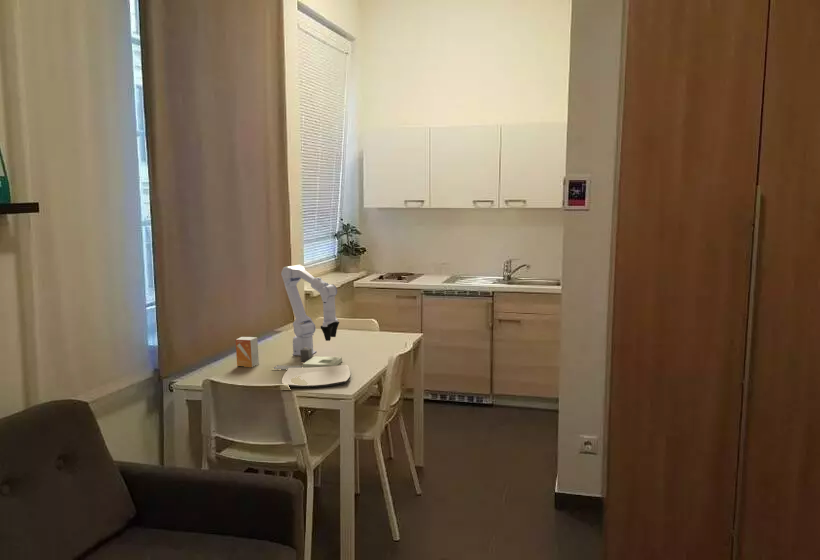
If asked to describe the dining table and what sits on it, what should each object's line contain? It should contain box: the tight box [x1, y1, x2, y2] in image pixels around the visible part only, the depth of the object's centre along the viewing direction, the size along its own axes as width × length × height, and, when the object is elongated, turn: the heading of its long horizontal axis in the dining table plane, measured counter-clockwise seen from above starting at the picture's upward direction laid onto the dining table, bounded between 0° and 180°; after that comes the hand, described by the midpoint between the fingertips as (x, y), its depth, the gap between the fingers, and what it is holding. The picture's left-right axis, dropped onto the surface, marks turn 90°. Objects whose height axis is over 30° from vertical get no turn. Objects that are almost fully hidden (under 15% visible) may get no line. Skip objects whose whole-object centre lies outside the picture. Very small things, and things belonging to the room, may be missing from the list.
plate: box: [281, 364, 351, 388], centre depth 289 cm, size 29×29×3 cm
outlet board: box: [302, 355, 343, 368], centre depth 313 cm, size 14×14×2 cm
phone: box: [273, 364, 303, 370], centre depth 309 cm, size 13×7×1 cm, turn 76°
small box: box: [235, 336, 260, 368], centre depth 316 cm, size 8×6×13 cm
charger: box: [300, 347, 313, 363], centre depth 320 cm, size 4×4×7 cm
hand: (330, 338), depth 323 cm, fingers open, 7 cm apart
